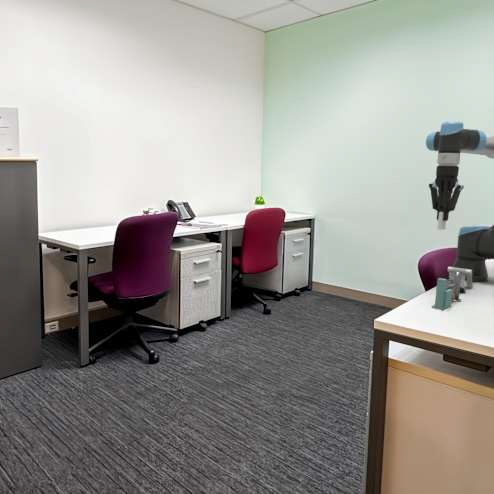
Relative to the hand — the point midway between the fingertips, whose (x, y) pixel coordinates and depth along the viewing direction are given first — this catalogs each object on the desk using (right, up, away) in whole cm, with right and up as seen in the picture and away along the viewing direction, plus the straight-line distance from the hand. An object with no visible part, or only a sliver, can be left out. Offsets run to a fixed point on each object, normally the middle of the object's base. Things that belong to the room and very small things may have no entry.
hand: (441, 229), depth 176 cm
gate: (-3, -26, -12) cm, 29 cm away
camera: (+7, -24, +8) cm, 26 cm away
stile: (-7, -27, -16) cm, 32 cm away
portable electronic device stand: (+12, -23, +13) cm, 30 cm away
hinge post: (+2, -26, -7) cm, 27 cm away
